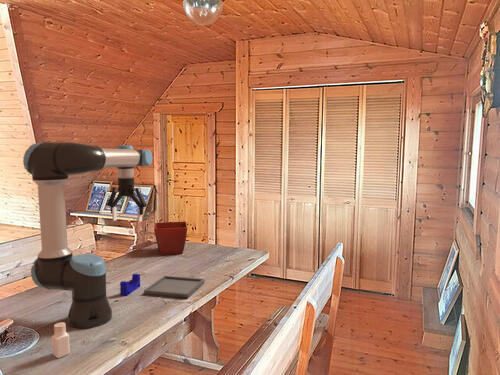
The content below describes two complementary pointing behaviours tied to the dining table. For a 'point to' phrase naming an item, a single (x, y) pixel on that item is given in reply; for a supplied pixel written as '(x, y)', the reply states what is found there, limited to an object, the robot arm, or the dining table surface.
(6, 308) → the dining table surface
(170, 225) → the plant pot
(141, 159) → the robot arm
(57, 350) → the salt shaker
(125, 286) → the cable clip
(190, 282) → the tray
